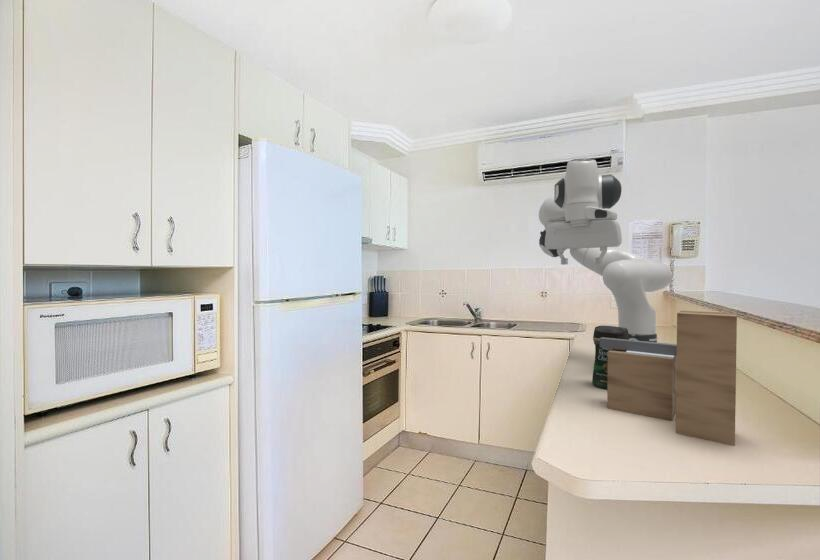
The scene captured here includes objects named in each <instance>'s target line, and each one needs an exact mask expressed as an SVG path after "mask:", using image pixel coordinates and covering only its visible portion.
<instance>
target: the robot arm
mask: <svg viewBox="0 0 820 560" xmlns="http://www.w3.org/2000/svg"><path fill="white" fill-rule="evenodd" d="M565 170H566V171H565V175H564V177H562V178H560V179H559V180H558V181H557V182H556V183H555V184H554V194H553V195H550V196H549V197H547V198H545V200H544V201H543V202H542V203H541V205H540V208H539V211H538V220H539V222H540V224H541V225H543V227H544V230H543V231H542V230H541V231H540V232H539V234H540V236H539V240H538V244H539V247H540V248H541V250H542V252H543V253H544V254H546V255H547V256H549V257H552V258H557V257H559V259H560V265H568V264H569V258H565V256H564V253H565V251H566V250H568V249H569V254H570V256H571V257H572V259H574V260H575V261H576V262H577V263H579V264H580V265H581V266H583V267H585V268H586V269H589V270H591V271H592V272H594V273H596V274H597V275H599V276H601V277H602V281H603V283H604V285H605V286H606V288H607V289H609V290H610V291H611V294H612V295H613V297H614V300H615V302H616V307H617V315H618V317H617V318H618V327H622V328H627V329H628V334H629V340H636V341H647V342H658V336H657V335H658V334H657V333H656V323H657V322H656V310H655V308H654V307H653V306H651V305H650V303H649V301H648V299H647V298H648V297H647V295H646V293H649V292H650V293H652V292H653V293H654V292H656V291H659V290H663V289H666V287H668V286H669V285H670V283H671V281H672V271H671V269H670V267H669V266H668V265H667V264H665V263H663V262H661V261H660V262H659V261H657V260H652V259H650V258H648V257H644V256H641V255H638V254H635V253H632V252H628V251H626V250H625V251H624V250H623V249H622V250H621V249H619V248H618V247H619V246H621V245H622V243H623V242H622V240H623V239H622V229H621V226H620V225H621V224H620V223H619V222H618V221H617V219H618V214H617V212H615V211H613V210H609V209H612V208H613V207H614V206H615V205H616V204H617V203H618V202H619V200H620V199H621V196H622V184H621V182H620V181H619V179H617V177H616V176H614V175H613V174H603V175H602V174H601V175H599V169H598V164H597V160H596V159H594V158H588V157H587V158H574V159H571V160H569V161H568V162H567V164H566V169H565Z"/></svg>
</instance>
